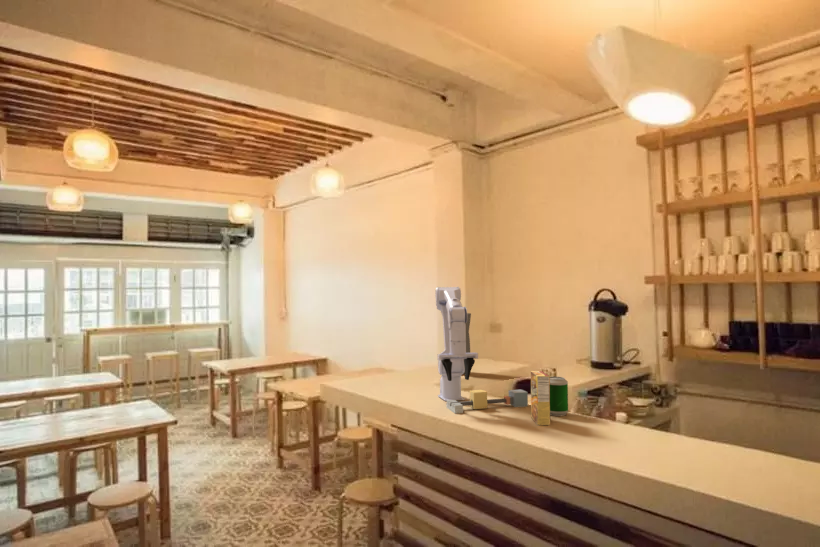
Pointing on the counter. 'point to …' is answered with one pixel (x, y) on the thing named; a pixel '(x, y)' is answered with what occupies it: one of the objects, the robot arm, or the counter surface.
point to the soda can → (558, 396)
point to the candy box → (540, 397)
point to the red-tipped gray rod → (488, 401)
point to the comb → (454, 406)
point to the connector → (518, 398)
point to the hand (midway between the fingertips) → (458, 379)
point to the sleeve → (478, 399)
